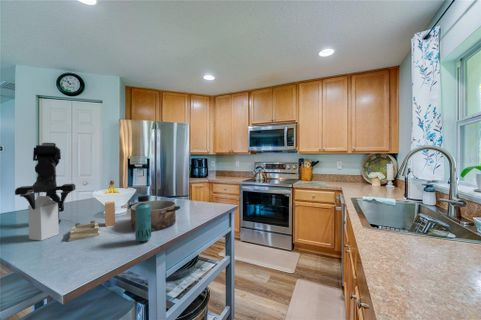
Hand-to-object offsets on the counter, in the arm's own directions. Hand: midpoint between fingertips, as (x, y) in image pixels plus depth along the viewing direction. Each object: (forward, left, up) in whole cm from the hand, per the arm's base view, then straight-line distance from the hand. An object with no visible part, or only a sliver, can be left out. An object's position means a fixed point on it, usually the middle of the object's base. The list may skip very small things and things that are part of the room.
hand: (48, 208), depth 90 cm
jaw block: (-5, +24, -14) cm, 28 cm away
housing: (+2, +13, -14) cm, 19 cm away
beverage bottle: (+28, +34, -14) cm, 46 cm away
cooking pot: (+8, +43, -15) cm, 46 cm away
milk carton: (-4, -2, -14) cm, 15 cm away
